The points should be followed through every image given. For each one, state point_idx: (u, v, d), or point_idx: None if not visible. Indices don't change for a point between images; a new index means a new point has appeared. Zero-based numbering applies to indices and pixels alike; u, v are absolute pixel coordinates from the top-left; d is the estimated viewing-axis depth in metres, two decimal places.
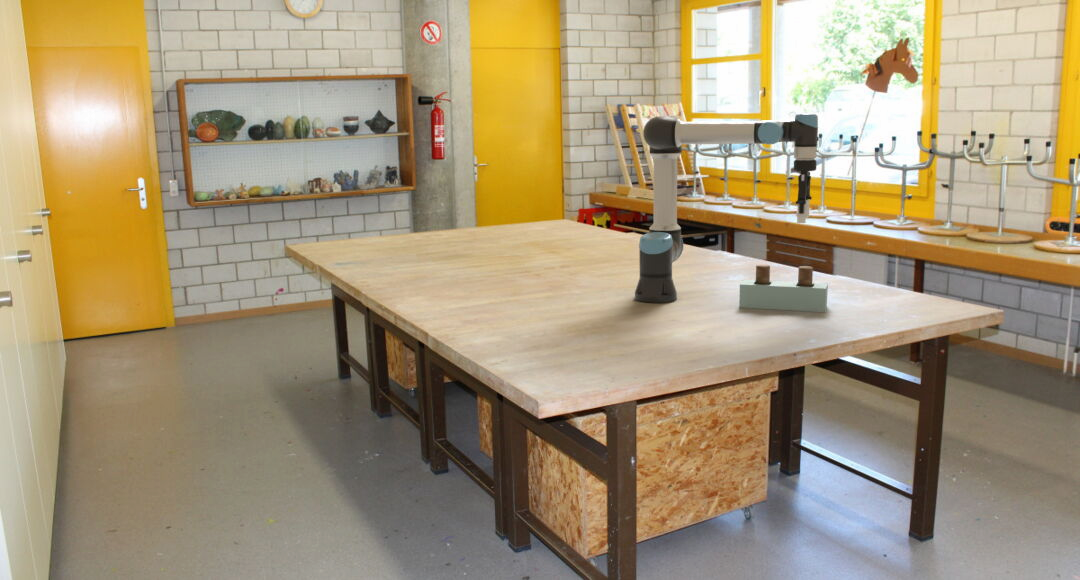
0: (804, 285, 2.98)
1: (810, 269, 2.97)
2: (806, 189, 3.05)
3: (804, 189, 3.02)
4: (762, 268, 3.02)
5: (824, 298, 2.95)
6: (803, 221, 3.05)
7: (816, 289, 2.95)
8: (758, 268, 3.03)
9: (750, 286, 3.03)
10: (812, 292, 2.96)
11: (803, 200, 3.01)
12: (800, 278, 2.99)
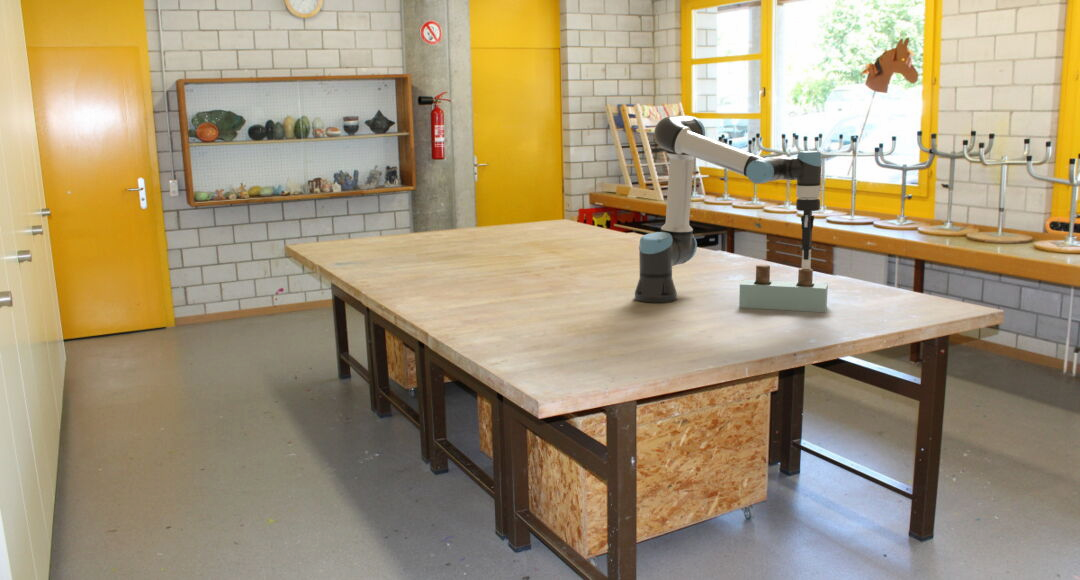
0: None
1: (810, 271, 2.98)
2: (810, 233, 2.95)
3: (808, 236, 2.93)
4: (762, 268, 3.02)
5: (824, 298, 2.95)
6: (808, 267, 2.98)
7: (816, 289, 2.95)
8: (758, 268, 3.03)
9: (750, 286, 3.03)
10: (812, 292, 2.96)
11: (808, 246, 2.94)
12: (800, 280, 2.99)
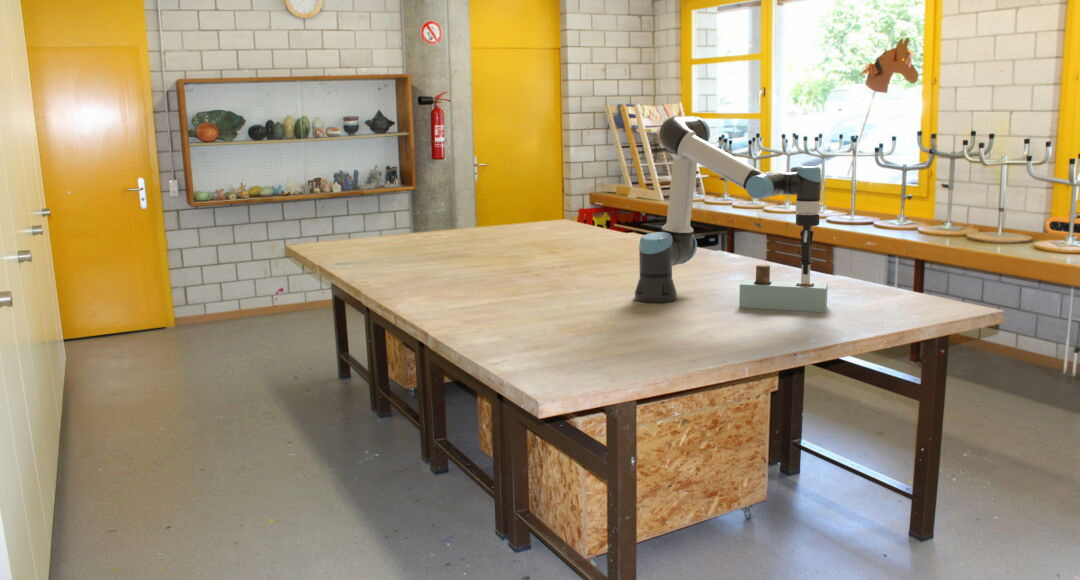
0: None
1: (809, 286, 2.99)
2: (809, 248, 2.96)
3: (807, 251, 2.94)
4: (762, 268, 3.02)
5: (824, 298, 2.95)
6: (807, 282, 2.99)
7: (816, 289, 2.95)
8: (758, 268, 3.03)
9: (750, 286, 3.03)
10: (812, 292, 2.96)
11: (807, 261, 2.95)
12: None
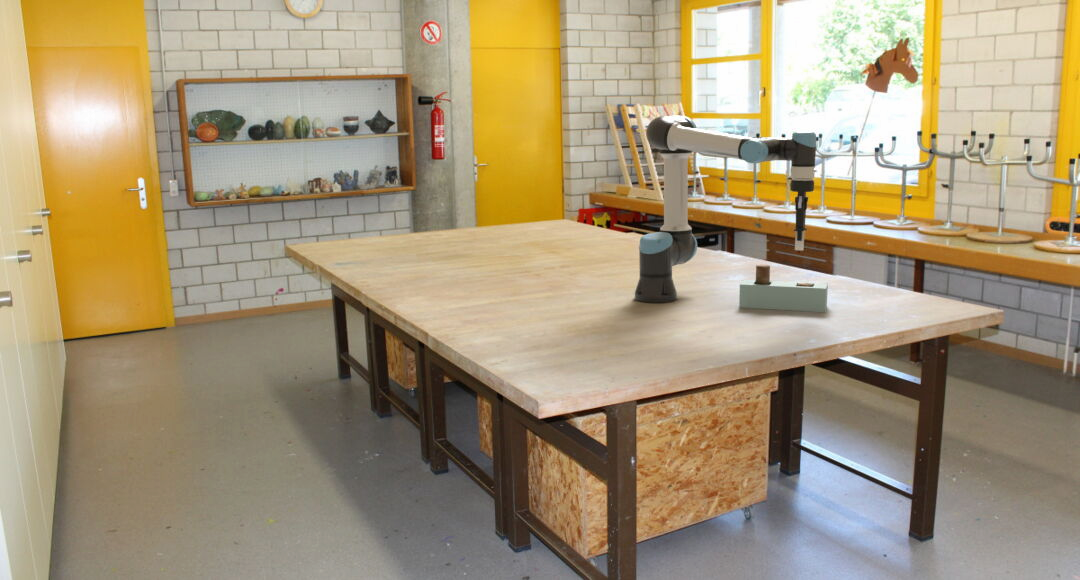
0: None
1: (809, 286, 2.99)
2: (804, 214, 2.94)
3: (802, 217, 2.92)
4: (762, 268, 3.02)
5: (824, 298, 2.95)
6: (801, 248, 2.98)
7: (816, 289, 2.95)
8: (758, 268, 3.03)
9: (750, 286, 3.03)
10: (812, 292, 2.96)
11: (801, 227, 2.94)
12: None
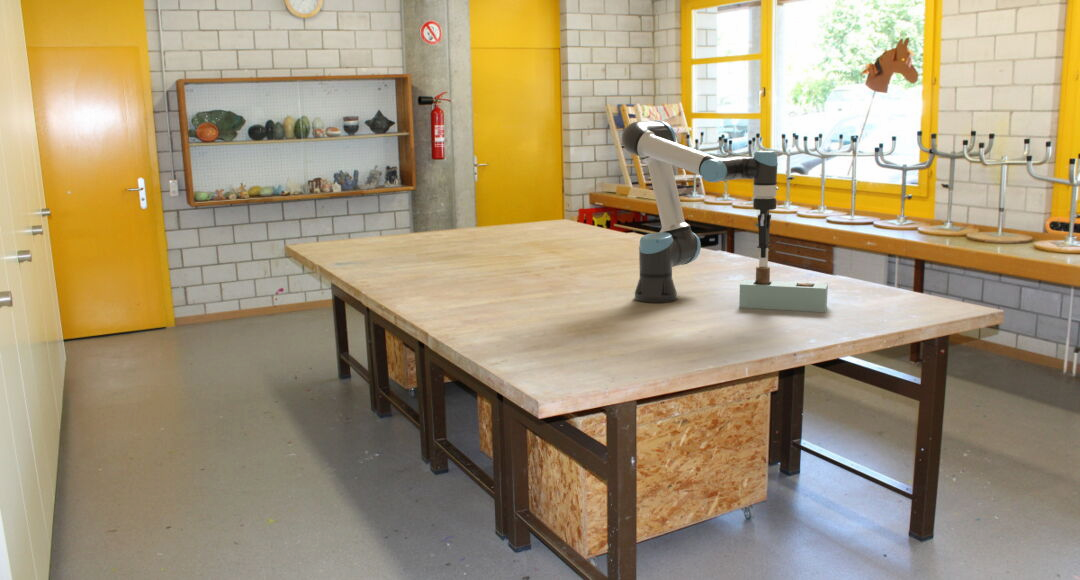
0: None
1: (809, 286, 2.99)
2: (766, 232, 3.00)
3: (764, 235, 2.98)
4: (762, 270, 3.02)
5: (824, 298, 2.95)
6: (765, 265, 3.03)
7: (816, 289, 2.95)
8: (758, 270, 3.03)
9: (750, 286, 3.03)
10: (812, 292, 2.96)
11: (764, 244, 2.99)
12: None
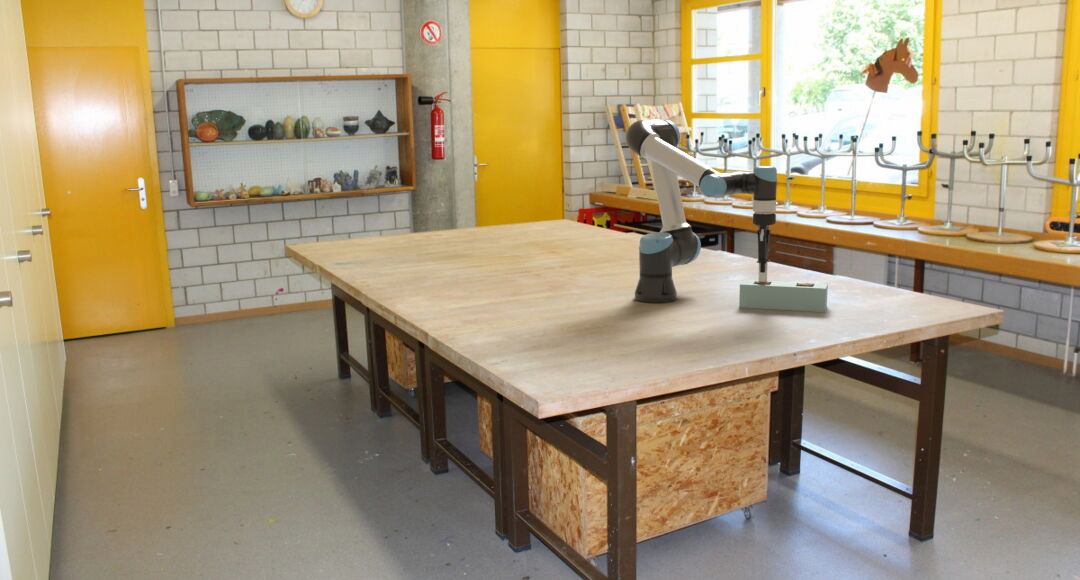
0: None
1: (809, 286, 2.99)
2: (766, 247, 3.01)
3: (764, 250, 2.99)
4: (762, 284, 3.04)
5: (824, 298, 2.95)
6: (764, 280, 3.04)
7: (816, 289, 2.95)
8: None
9: (750, 286, 3.03)
10: (812, 292, 2.96)
11: (764, 259, 3.00)
12: None
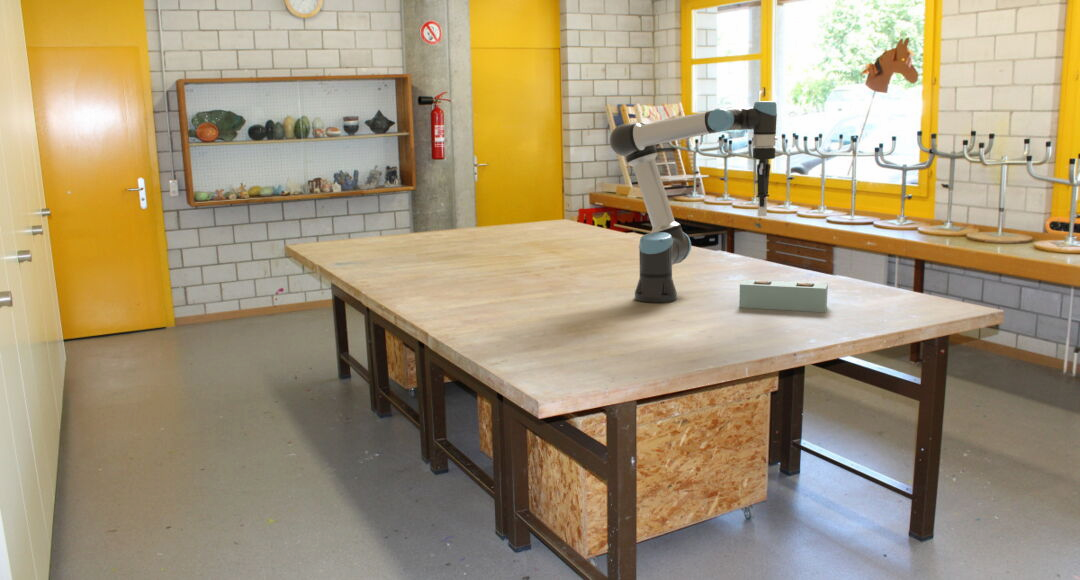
0: None
1: (809, 286, 2.99)
2: (765, 181, 3.06)
3: (763, 183, 3.04)
4: None
5: (824, 298, 2.95)
6: (764, 214, 3.09)
7: (816, 289, 2.95)
8: None
9: (750, 286, 3.03)
10: (812, 292, 2.96)
11: (763, 193, 3.05)
12: None
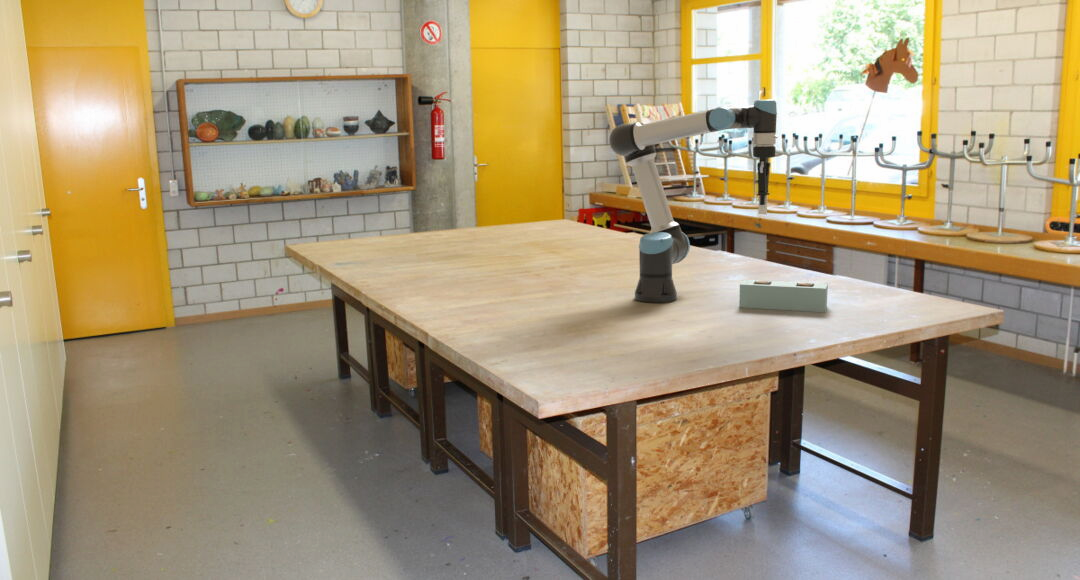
0: None
1: (809, 286, 2.99)
2: (766, 179, 3.07)
3: (764, 182, 3.05)
4: None
5: (824, 298, 2.95)
6: (764, 212, 3.10)
7: (816, 289, 2.95)
8: None
9: (750, 286, 3.03)
10: (812, 292, 2.96)
11: (763, 191, 3.06)
12: None
